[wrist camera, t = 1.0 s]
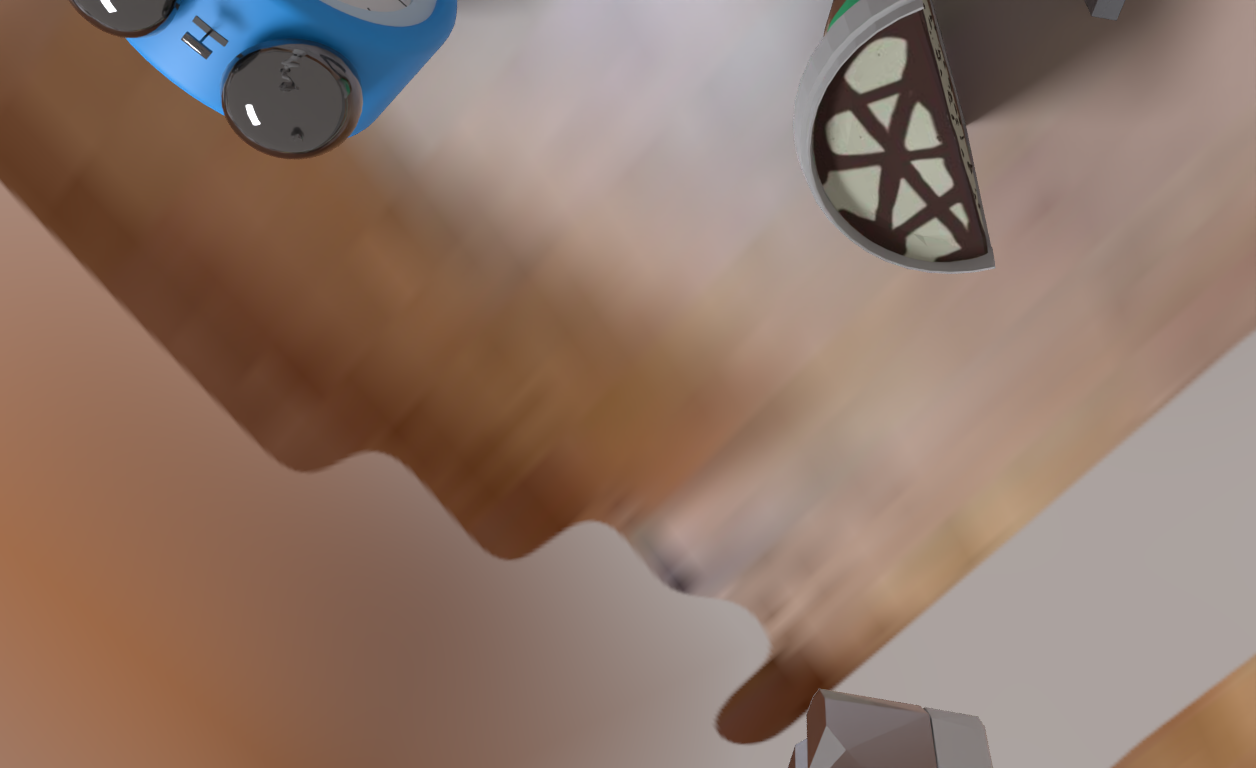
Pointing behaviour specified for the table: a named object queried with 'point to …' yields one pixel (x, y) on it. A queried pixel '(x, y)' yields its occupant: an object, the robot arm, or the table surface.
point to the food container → (891, 139)
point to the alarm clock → (284, 59)
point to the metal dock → (1105, 8)
